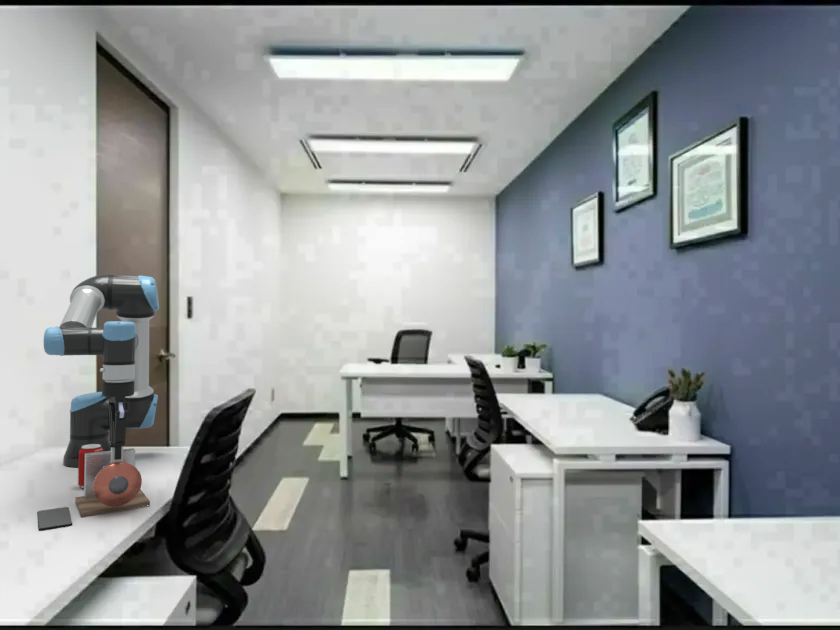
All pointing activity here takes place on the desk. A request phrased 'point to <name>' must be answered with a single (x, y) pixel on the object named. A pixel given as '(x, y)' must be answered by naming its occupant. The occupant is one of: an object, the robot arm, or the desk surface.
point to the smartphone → (54, 518)
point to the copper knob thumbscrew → (117, 484)
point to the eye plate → (100, 467)
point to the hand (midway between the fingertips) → (116, 470)
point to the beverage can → (81, 465)
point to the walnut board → (96, 507)
